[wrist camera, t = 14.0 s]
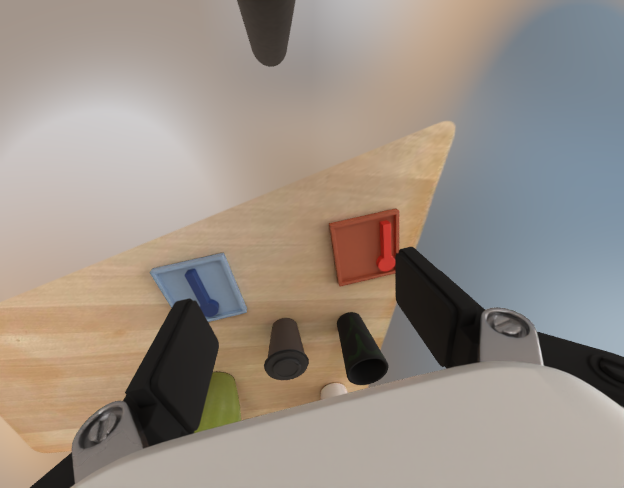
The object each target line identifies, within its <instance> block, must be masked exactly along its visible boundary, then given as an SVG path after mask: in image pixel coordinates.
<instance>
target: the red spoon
mask: <svg viewBox="0 0 624 488" xmlns="http://www.w3.org/2000/svg"><path fill="white" fill-rule="evenodd" d="M380 245H381V255H380V256H379V257H378V259H377V261H376V264H377V266H378V268H379V269H380V270H381V271H389V270H391V269H392V268H393V267H394V266H395V259H394V258H393V256H392V255H391V223H390V222H389V221H388V220H385V221H380Z"/></svg>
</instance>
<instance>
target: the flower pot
mask: <svg viewBox="0 0 624 488" xmlns="http://www.w3.org/2000/svg"><path fill="white" fill-rule="evenodd" d="M238 421H241V413H240V405H239V398H238V393H237V388H236V384H235V380H234V378H233V377H232V376H231V375H229V374H227V373H224V372H214V373H212V377H211V381H210V385H209V389H208V393H207V397H206V401H205V405H204V409H203V413H202V417H201V421H200V425H199V428H198V429H197V430H196V431H195V432H194V433H197V432H201V431H204V430H208V429H212V428H216V427H220V426H223V425H227V424H231V423H235V422H238Z"/></svg>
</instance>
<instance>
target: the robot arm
mask: <svg viewBox="0 0 624 488" xmlns="http://www.w3.org/2000/svg"><path fill="white" fill-rule="evenodd" d="M395 276H396V301H397V303H398V305H399V306H400V308H401V309H402V311H403V312H404V314H405V315H406V316H407V318H408V319H409V321H410V322H411V324H412V325H413V327H414V328H415V330H416V331H417V332H418V334H419V336H420V337H421V338H422V340H423V341H424V343H425V344H426V346H427V347H428V349H429V350H430V351H431V353H432V355H433V356H434V357H435V359H436V360H437V362H438V363H439V364H440V365H441V366H442V367H444V366H445V367H446V369H444V370H440V371H435V372H431V373H427V374H422V375H418V376H414V377H410V378H406V379H402V380H398V381H394V382H390V383H386V384H382V385H378V386H374V387H370V388H366V389H362V390H358V391H354V392H350V393H346V394H342V395H338V396H334V397H331V398H327V399H323V400H319V401H315V402H311V403H307V404H303V405H300V406H296V407H292V408H288V409H284V410H280V411H276V412H273V413H269V414H265V415H261V416H257V417H254V418H250V419H246V420H242V421H238V422H235V423H231V424H227V425H223V426H220V427H216V428H212V429H208V430H204V431H201V432H197V433H194V432H195V431H196V430H197V429H198V428H199V425H200V421H201V417H202V413H203V409H204V405H205V401H206V397H207V393H208V389H209V385H210V381H211V377H212V373H213V369H214V365H215V361H216V357H217V352H218V348H219V342H218V339H217V337H216V336H215V334H214V332H213V330H212V328H211V327H210V325H209V323H208V321H207V319H206V317H205V316H204V314H203V312H202V310H201V308H200V307H199V305H198V303H197V301H195V300H194V301H193V300H192V299H190V298H188V299H184V300H180V301H176V302H175V303H174V305H173V307H172V309H171V310H170V312H169V314H168V316H167V318H166V319H165V321H164V323H163V325H162V327H161V328H160V330H159V332H158V334H157V336H156V337H155V339H154V341H153V343H152V345H151V346H150V348H149V350H148V352H147V354H146V355H145V357H144V359H143V361H142V363H141V365H140V366H139V368H138V370H137V372H136V374H135V375H134V377H133V379H132V381H131V383H130V384H129V386H128V388H127V390H126V392H125V393H126V394H127V395H126V396H125V398H124V400H123V401H115V402H112V403H110V404H107V405H105V406H104V407H102V408H101V409H99V410H98V411H96V412H95V413H94V414H93V415H92V416H91V417H89V419H88V420H87V421H86V422H85V423H84V424H83V425H82V426H81V428H80V429H79V431H78V432H77V434H76V436H75V438H74V440H73V443H72V453H71V454H69V455H68V456H67V457H66V458H64V459H63V460H62V461H61V462H60V463H59V464H57V465H56V466H55V467H54V468H53V469H51V470H50V471H49V472H48V473H47V474H45V475H44V476H43V477H42V478H41V479H40V480H38V481H37V482H36V483H35V484H34V485H32V486H31V487H30V488H624V357H622V356H619V355H616V354H614V353H610V352H607V351H603V350H600V349H596V348H593V347H589V346H586V345H582V344H579V343H575V342H572V341H568V340H565V339H561V338H558V337H554V336H550V335H547V334H544V333H540V332H537V330H536V328H535V326H534V324H533V323H532V322H531V321H530V320H529V319H527V318H526V317H525V316H523V315H522V314H519V313H517V312H515V311H513V310H509V309H505V308H490V309H487V310H485V309H484V308H482V307H481V306H480V305H479V304H478V303H477V302H475V300H473V299H472V298H471V297H470V296H469V295H468V294H467V293H465V292H464V291H463V290H462V289H461V288H460V287H459V286H458V285H456V284H455V283H454V282H453V281H452V280H451V279H450V278H449V277H447V276H446V275H445V274H444V273H443V272H442V271H440V270H438V269H437V268H436V267H435V266H434V265H433V264H432V263H430V262H429V261H428V260H427V259H426V258H425V257H424V256H423V255H421V254H420V253H419V252H418V251H417V250H416V249H415V248H413V247H408V248H403V249H400V250H399V252H398V253H396V255H395Z"/></svg>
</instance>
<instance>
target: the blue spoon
mask: <svg viewBox="0 0 624 488" xmlns="http://www.w3.org/2000/svg"><path fill="white" fill-rule="evenodd" d="M184 276H185V278H186V280H187V281H188V283H189V285H190V287H191V289H192V291H193V292H194V294H195V296H196V298H197V300H198V302H199V303H200V308H201V310H202V312H203V314H204V316H206V317H213V316H215V315H216V314H217V313H218V310H219V303H218V302H217V301H215V300H213V299H210V297H209V295H208V293H207V291H206V289H205V287H204V285H203V283H202V281H201V279H200V277H199V275H198V273H197V271H196V269H191V270H187V272H186V273H185V275H184Z"/></svg>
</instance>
